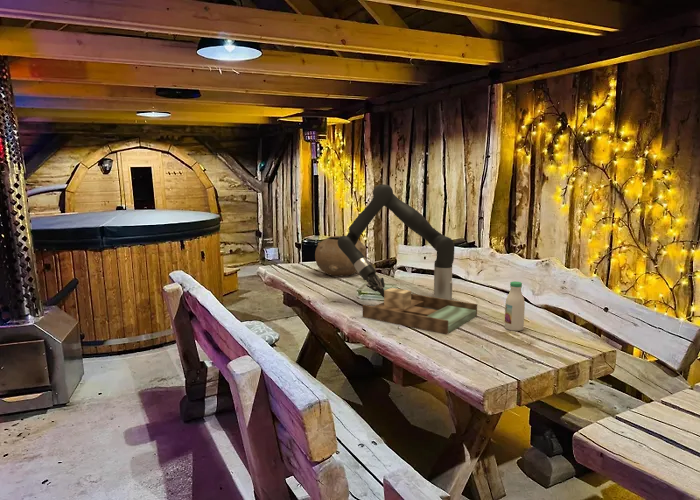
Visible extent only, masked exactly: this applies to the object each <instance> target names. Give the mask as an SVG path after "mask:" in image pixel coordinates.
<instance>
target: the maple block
mask: <svg viewBox="0 0 700 500" xmlns="http://www.w3.org/2000/svg"><path fill="white" fill-rule="evenodd" d="M411 294H412V290H409V289H408V290H407V289H401V288H400V289H399V288H394V287H390V288H388V289H384V297H383V302H384V306H388V307H394V308H399V309H406V308H408V307H411Z"/></svg>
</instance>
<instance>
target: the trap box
mask: <svg viewBox="0 0 700 500" xmlns="http://www.w3.org/2000/svg"><path fill="white" fill-rule="evenodd" d="M477 316H478V304H477V303H472V302H466V301H465V302H464V301H458V300H453V299H452V300H447V299H441V298H435V297H434V296H427V295H422V294H421V295H420V294H414V293H411V307H408V308H406V309H399V308H394V307H388V306H384V301H383V302H382V303H378V304H376V305H366V304H362V318H366V319H369V320H376V321H381V322H385V323H390V324H394V325H400V326H405V327H410V328H413V329H414V328H415V329H420V330H425V331H428V332H433V333H438V334H444V335H448V334H449V333H451V332H454V331H455V330H456V329H457V328H459V327H461V326H463V325H464V324H466V323H467V322H469V321H471V320H473V319H475V318H476V317H477Z"/></svg>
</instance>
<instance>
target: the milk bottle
mask: <svg viewBox="0 0 700 500" xmlns="http://www.w3.org/2000/svg"><path fill="white" fill-rule="evenodd" d="M509 286H510V290H509V293H508V295H507V297H506V298H505V305H504V307H505V309H504V328H505V329H506V330H507V331H508V330H509V331H512V332H518V331H519V332H520V331H522V330H524V326H525V311H526V310H525V308H526V307H525V305H526V303H525V298H524V296H523V295H524V294H523V293H522V286H523V283H522V282H521V281H513V280H512V281H511V282H510V283H509Z"/></svg>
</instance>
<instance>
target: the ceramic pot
mask: <svg viewBox="0 0 700 500" xmlns="http://www.w3.org/2000/svg"><path fill="white" fill-rule="evenodd" d="M341 236H342V235H335V236H328V237H326V238H325V239H323V240H322V241H318V243H317V246H316V248H315V251H314V252H315V253H314V258H315V263H316V265H317V267H318V269H319V270H321V271H322V272H323V273H325V274H327V275H329V276H331V277H347V276H348V277H349V276H353V274H356V273H358V272H357V270H356V269H355V267H354V265H353V264H352V263H351V261H350V260H349V258H348V257H347V256H346V255H345V254H344V253H343V251H342V250H341V249H340V248H339V246H338V239H339V238H340V237H341ZM355 246H356V248H357V249H358V250H359V251H360V252H361V253H362V254H363V255H364V257H365V258H366V254H367V253H366V245H364V244H363V242H362V241H361V240H360V239H358V241H357V243H356V245H355Z"/></svg>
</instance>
